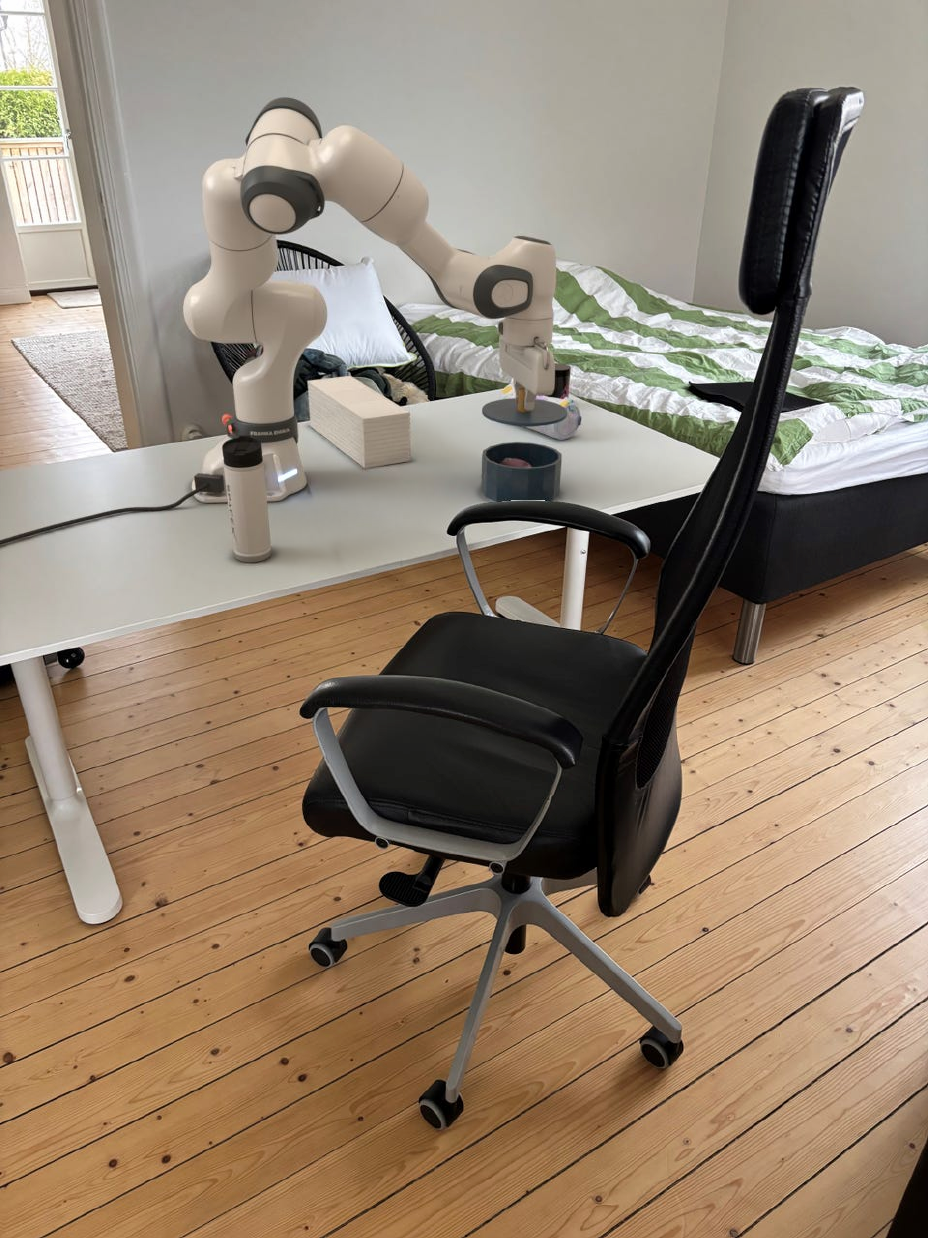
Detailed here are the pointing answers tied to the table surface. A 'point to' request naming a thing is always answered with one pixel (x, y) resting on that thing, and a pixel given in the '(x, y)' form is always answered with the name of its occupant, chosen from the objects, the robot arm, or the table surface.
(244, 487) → the travel mug
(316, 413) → the stack of papers
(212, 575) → the table surface
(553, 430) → the pencil case
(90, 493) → the table surface
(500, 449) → the tin
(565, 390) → the supplement container
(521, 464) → the pink curved piece
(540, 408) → the tin lid
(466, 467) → the table surface
